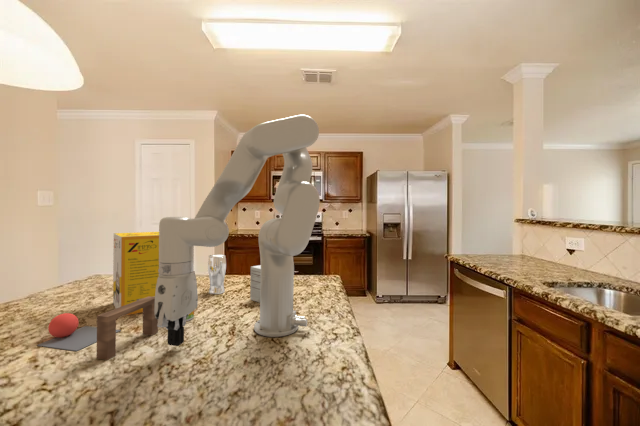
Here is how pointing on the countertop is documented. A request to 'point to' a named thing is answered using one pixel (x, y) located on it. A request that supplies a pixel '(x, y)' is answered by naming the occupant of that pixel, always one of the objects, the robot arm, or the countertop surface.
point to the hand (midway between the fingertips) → (175, 343)
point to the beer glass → (216, 273)
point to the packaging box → (135, 267)
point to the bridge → (108, 325)
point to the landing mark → (74, 339)
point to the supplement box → (255, 283)
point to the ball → (63, 325)
